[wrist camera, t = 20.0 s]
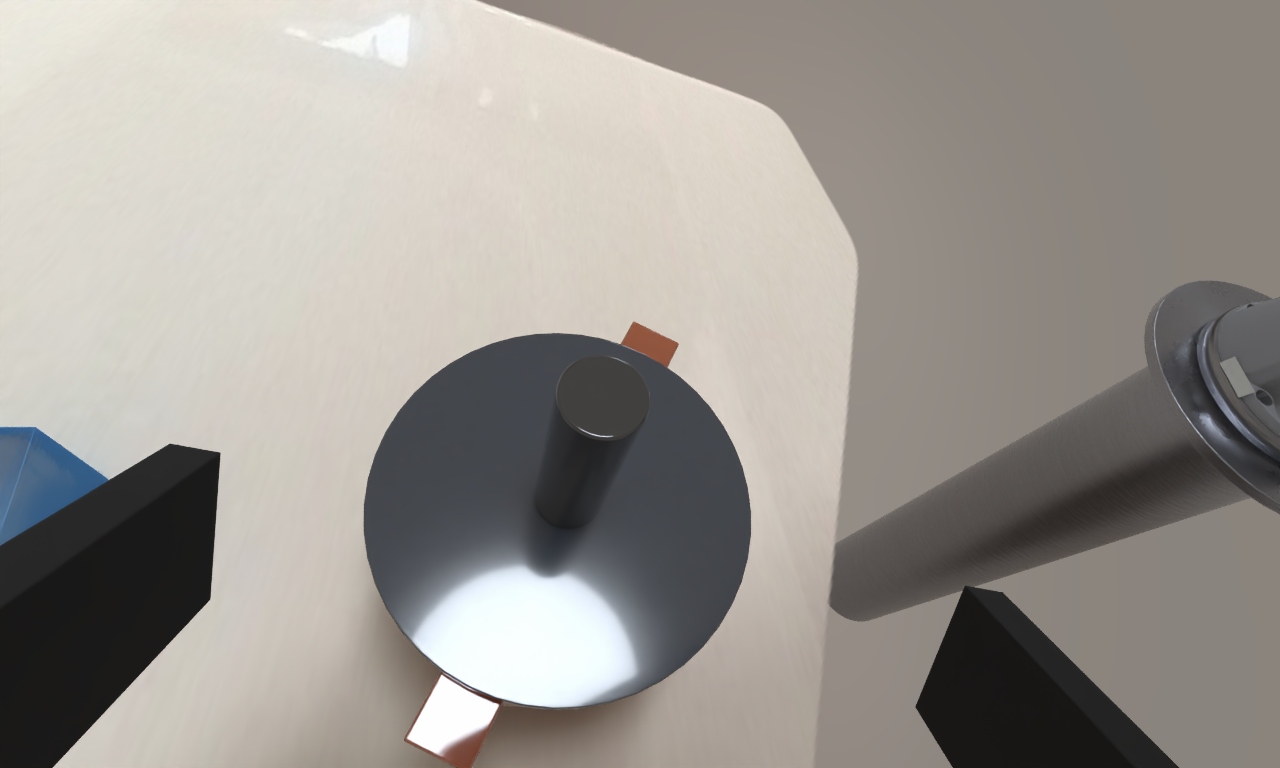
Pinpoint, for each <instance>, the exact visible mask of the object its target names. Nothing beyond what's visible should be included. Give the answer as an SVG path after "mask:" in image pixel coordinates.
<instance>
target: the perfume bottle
mask: <svg viewBox="0 0 1280 768" xmlns="http://www.w3.org/2000/svg"><path fill="white" fill-rule="evenodd" d="M107 481H108V479H107V478H106V477H104V476H103V475H102V474H100V473H99V472H97V471H96V470H95V469H93V468H92V467H90V466H89V465H88V464H86V463H85V462H83V461H82V460H81V459H79V458H78V457H76V456H75V455H74V454H72V453H71V452H70V451H68V450H67V449H65V448H64V447H63V446H61V445H60V444H58V443H57V442H56V441H54V440H53V439H51V438H50V437H49V436H47V435H46V434H44V433H43V432H42V431H40V430H39V429H37V428H36V427H0V545H2V544H4V543H5V542H7V541H9V540H10V539H12V538H14V537H15V536H17V535H19V534H20V533H22V532H24V531H25V530H27V529H29V528H30V527H32V526H34V525H35V524H37V523H39V522H40V521H42V520H44V519H45V518H47V517H49V516H50V515H52V514H54V513H55V512H57V511H59V510H60V509H62V508H64V507H65V506H67V505H69V504H70V503H72V502H74V501H75V500H77V499H79V498H80V497H82V496H84V495H85V494H87V493H89V492H90V491H92V490H94V489H95V488H97V487H99V486H100V485H102V484H104V483H105V482H107Z"/></svg>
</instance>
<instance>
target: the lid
mask: <svg viewBox="0 0 1280 768" xmlns="http://www.w3.org/2000/svg"><path fill="white" fill-rule="evenodd" d="M364 537H365V544H366V551H367V558H368V561H369V565H370V568H371V572H372V575H373V579H374V582H375V585H376V587H377V589H378V591H379V593H380V596H381V598H382V600H383V602H384V604H385V606H386V609H387V610H388V612H389V613H390V615H391V616H392V618H393V619H394V621H395V622H396V624H397V626H398V627H399V629H400V630H401V632H402V633H403V635H404V636H405V637H406V638H407V639H408V640H409V641H410V642H411V644H412V645H413V646H414V647H415V648H416V649H417V650H418V651H419V652H420V654H421V655H422V656H423V657H425V658H426V659H427V660H428V661H429V662H431V663H432V664H433V665H434V666H435V667H437V668H438V669H439V670H440V671H441V672H443V673H444V674H445V675H447V676H449V677H450V678H452V679H454V680H455V681H457V682H458V683H460V684H462V685H463V686H465V687H467V688H468V689H471V690H473V691H475V692H478V693H480V694H483V695H485V696H487V697H490V698H492V699H494V700H498V701H502V702H506V703H509V704H513V705H517V706H521V707H528V708H537V709H547V710H564V709H582V708H587V707H593V706H598V705H603V704H608V703H611V702H614V701H617V700H620V699H623V698H626V697H629V696H632V695H634V694H637V693H639V692H641V691H643V690H645V689H647V688H649V687H651V686H653V685H655V684H657V683H659V682H661V681H662V680H664V679H665V678H666V677H668V676H669V675H671V674H672V673H674V672H675V671H676V670H678V669H679V668H681V667H682V666H683V665H685V664H686V663H687V662H688V661H689V660H690V659H691V658H692V657H693V656H694V655H695V654H696V653H697V652H698V651H699V650H700V649H701V648H702V647H703V646H704V645H705V644H706V643H707V641H708V640H709V639H710V638H711V636H712V635H713V634H714V632H715V631H716V630H717V629H718V627H719V626H720V624H721V623H722V621H723V619H724V617H725V616H726V614H727V612H728V611H729V609H730V607H731V606H732V603H733V601H734V599H735V596H736V594H737V592H738V589H739V587H740V584H741V582H742V578H743V574H744V571H745V567H746V563H747V560H748V553H749V545H750V537H751V510H750V502H749V494H748V487H747V483H746V480H745V476H744V472H743V468H742V465H741V462H740V460H739V457H738V455H737V452H736V450H735V447H734V445H733V443H732V441H731V439H730V437H729V436H728V434H727V432H726V430H725V428H724V426H723V425H722V423H721V422H720V420H719V419H718V418H717V416H716V415H715V413H714V412H713V410H712V409H711V408H710V407H709V405H708V404H707V403H706V402H705V401H704V400H703V399H702V398H701V396H700V395H699V394H698V393H697V392H696V391H695V390H694V389H693V388H692V387H691V386H689V385H688V384H687V383H686V382H685V381H684V380H683V379H682V378H681V377H679V376H678V375H677V374H675V373H674V372H672V371H671V370H670V369H668V368H667V367H665V366H664V365H663V364H661V363H659V362H657V361H656V360H654V359H652V358H650V357H648V356H647V355H645V354H643V353H641V352H638V351H636V350H634V349H631V348H629V347H626V346H624V345H621V344H618V343H614V342H611V341H608V340H604V339H601V338H595V337H590V336H584V335H576V334H562V333H552V334H534V335H527V336H521V337H514V338H510V339H507V340H503V341H499V342H496V343H492V344H490V345H487V346H485V347H482V348H480V349H477V350H475V351H472V352H470V353H468V354H466V355H465V356H463V357H461V358H459V359H457V360H456V361H454V362H452V363H450V364H449V365H447V366H446V367H445V368H443V369H442V370H440V371H439V372H438V373H436V374H435V375H433V376H432V377H431V378H430V379H429V380H428V381H427V382H426V383H424V384H423V385H422V386H421V387H420V388H419V389H418V390H417V391H416V392H415V393H414V394H413V395H412V396H411V397H410V399H409V400H408V401H407V402H406V403H405V405H404V406H403V407H402V408H401V409H400V411H399V412H398V413H397V415H396V417H395V418H394V420H393V421H392V423H391V424H390V426H389V428H388V429H387V431H386V432H385V434H384V437H383V439H382V441H381V443H380V445H379V448H378V450H377V452H376V454H375V457H374V460H373V464H372V467H371V470H370V474H369V477H368V481H367V488H366V494H365V501H364Z"/></svg>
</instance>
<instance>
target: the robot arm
mask: <svg viewBox="0 0 1280 768" xmlns="http://www.w3.org/2000/svg"><path fill="white" fill-rule="evenodd" d="M1197 357H1198V363H1199V367H1200V370H1201V374H1202V376H1203V379H1204V381H1205V383H1206V386H1207V388H1208V389H1209V391H1210V393H1211V395H1212V397H1213V398H1214V400H1215V401H1216V403H1217V405H1218V406H1219V407H1220V409H1221V410H1222V412H1223V413H1224V414H1225V415H1226V417H1227V418H1228V419H1229V420H1230V421H1231V423H1232V424H1233V425H1234V426H1235V427H1236V428H1237V429H1238V430H1239V431H1240V432H1241V433H1242V434H1243V435H1244V436H1245V437H1246V438H1247V439H1248V440H1249V441H1251V442H1252V443H1253V444H1254V445H1255V446H1257V447H1258V448H1259V449H1260V450H1262V451H1263V452H1264V453H1266V454H1267V455H1269V456H1270V457H1272V458H1273V459H1275V460H1277V461H1278V462H1280V297H1278V298H1275V299H1272V300H1269V301H1266V302H1253V303H1249V304H1245V305H1242V306H1238V307H1235V308H1232V309H1231V310H1229V311H1227V312H1225V313H1224V314H1222V315H1220V316H1218V317H1217V318H1215V319H1213V320H1212V321H1210V322H1209V323H1208V324H1206V325H1205V327H1204V328H1203V329H1202V331H1201V333H1200V335H1199V338H1198V343H1197ZM219 466H220V453H219V452H213V451H208V450H202V449H197V448H191V447H185V446H180V445H174V444H169V445H167V446H165V447H164V448H162V449H160V450H159V451H157V452H155V453H154V454H152V455H150V456H149V457H147V458H145V459H144V460H142V461H140V462H139V463H137V464H135V465H134V466H132V467H130V468H129V469H127V470H125V471H124V472H122V473H120V474H119V475H117V476H115V477H114V478H112V479H110V480H109V481H107V482H105V483H104V484H102V485H100V486H99V487H97V488H95V489H94V490H92V491H90V492H89V493H87V494H85V495H84V496H82V497H80V498H79V499H77V500H75V501H74V502H72V503H70V504H69V505H67V506H65V507H64V508H62V509H60V510H59V511H57V512H55V513H54V514H52V515H50V516H49V517H47V518H45V519H44V520H42V521H40V522H39V523H37V524H35V525H34V526H32V527H30V528H29V529H27V530H25V531H24V532H22V533H20V534H19V535H17V536H15V537H14V538H12V539H10V540H9V541H7V542H5V543H4V544H2V545H0V768H53V767H54V766H55V764H56V763H57V762H58V761H59V760H60V759H61V758H62V757H63V756H64V755H65V754H66V753H67V752H68V751H69V750H70V749H71V747H72V746H73V745H74V744H75V743H76V742H77V741H78V740H79V739H80V738H81V737H82V736H83V735H84V734H85V733H86V731H87V730H88V729H89V728H90V727H91V726H92V725H93V724H94V723H95V722H96V721H97V720H98V719H99V718H100V717H101V715H102V714H103V713H104V712H105V711H106V710H107V709H108V708H109V707H110V706H111V705H112V704H113V703H114V702H115V701H116V699H117V698H118V697H119V696H120V695H121V694H122V693H123V692H124V691H125V690H126V689H127V688H128V687H129V686H130V685H131V683H132V682H133V681H134V680H135V679H136V678H137V677H138V676H139V675H140V674H141V673H142V672H143V671H144V670H145V669H146V667H147V666H148V665H149V664H150V663H151V662H152V661H153V660H154V659H155V658H156V657H157V656H158V655H159V654H160V653H161V651H162V650H163V649H164V648H165V647H166V646H167V645H168V644H169V643H170V642H171V641H172V640H173V639H174V638H175V637H176V635H177V634H178V633H179V632H180V631H181V630H182V629H183V628H184V627H185V626H186V625H187V624H188V623H189V622H190V621H191V619H192V618H193V617H194V616H195V615H196V614H197V613H198V612H199V611H200V610H201V609H202V608H203V607H204V606H205V605H206V603H207V602H208V601H209V600H210V597H211V582H212V568H213V553H214V539H215V524H216V510H217V495H218V481H219ZM916 709H917V710H918V712H919V713H920V715H921V717H922V718H923V720H924V722H925V723H926V725H927V727H928V728H929V730H930V732H931V733H932V735H933V736H934V738H935V740H936V741H937V743H938V744H939V746H940V748H941V749H942V751H943V753H944V754H945V756H946V757H947V759H948V761H949V762H950V764H951V765H952V767H953V768H1179V767H1178V766H1177V765H1176V764H1175V763H1174V762H1173V761H1172V760H1171V759H1170V758H1169V757H1168V756H1167V755H1166V754H1165V753H1164V752H1163V751H1162V750H1161V749H1160V748H1159V747H1158V746H1157V745H1156V744H1155V743H1154V742H1153V741H1152V740H1151V739H1150V738H1149V737H1148V736H1147V735H1146V734H1144V732H1143V731H1142V730H1141V729H1140V728H1139V727H1137V725H1136V724H1135V723H1134V722H1133V721H1132V720H1130V718H1129V717H1127V715H1126V714H1124V713H1123V712H1122V711H1121V710H1120V709H1119V708H1118V707H1117V706H1116V705H1115V704H1114V703H1113V702H1112V701H1111V700H1110V699H1109V698H1108V697H1107V696H1106V695H1105V694H1104V693H1103V692H1102V691H1101V690H1100V689H1099V688H1098V687H1097V686H1096V685H1095V684H1094V683H1093V682H1092V681H1091V680H1090V679H1089V678H1088V677H1087V676H1086V675H1085V674H1084V673H1083V672H1082V671H1081V670H1080V669H1079V668H1078V667H1077V666H1076V665H1075V664H1074V663H1073V662H1072V661H1071V660H1070V659H1069V658H1068V657H1067V656H1066V655H1065V654H1064V653H1063V652H1062V651H1061V650H1060V649H1059V648H1058V647H1057V646H1056V645H1055V644H1054V643H1053V642H1052V641H1051V640H1050V639H1049V638H1048V637H1047V636H1046V635H1045V634H1044V633H1043V632H1042V631H1041V630H1040V629H1039V628H1038V627H1037V626H1036V625H1035V624H1034V623H1033V622H1032V621H1031V620H1030V619H1029V618H1028V617H1027V616H1026V615H1025V614H1024V613H1023V612H1022V611H1020V609H1019V608H1018V607H1017V606H1016V605H1015V604H1014V603H1012V601H1011V600H1009V598H1008V597H1006V595H1004V594H1003V592H997V591H991V590H986V589H980V588H975V587H969V586H965V587H964V589H963V592H962V594H961V597H960V599H959V602H958V604H957V607H956V609H955V612H954V614H953V616H952V619H951V621H950V624H949V626H948V629H947V631H946V634H945V636H944V638H943V641H942V643H941V646H940V648H939V651H938V653H937V655H936V658H935V660H934V663H933V665H932V668H931V670H930V673H929V675H928V677H927V680H926V682H925V685H924V687H923V690H922V692H921V694H920V697H919V699H918V702H917V704H916Z"/></svg>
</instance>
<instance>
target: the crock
mask: <svg viewBox="0 0 1280 768" xmlns="http://www.w3.org/2000/svg"><path fill="white" fill-rule="evenodd" d="M621 345H624V346H626V347H629V348H631V349H634V350H636V351H638V352H641V353H643V354H645V355H647V356H648V357H650V358H652V359H654V360H656V361H657V362H659V363H661V364H663V365H664V366H665V367H668V365H669V363H670V361H671V359H672V357H673V355H674V353H675V351H676V349H677V347H678V345H679V344H678V343H677V342H675V341H673V340H671V339H669V338H667V337H665V336H663V335H661V334H659V333H657V332H654V331H652V330H650V329H648V328H646V327H644V326H642V325H640V324H638V323H636V322H633V323H632V325H631V326H630V328H629V330H628V332H627V334H626V336H625V337H624V339H623V341H622V343H621ZM502 705H503V706H513V707H521V706H517V705H513V704H509V703H506V702H502V701H498V700H494V699H492V698H490V697H487V696H485V695H483V694H480V693H478V692H475V691H473V690H471V689H468V688H467V687H465V686H463V685H462V684H460V683H458V682H457V681H455V680H454V679H452V678H450V677H449V676H447V675H445V674H444V673H443V672H440V674H439V676H438V677H437V679H436V681H435V683H434V685H433V687H432V688H431V690H430V692H429V694H428V696H427V697H426V699H425V701H424V703H423V705H422V707H421V708H420V710H419V712H418V714H417V716H416V717H415V719H414V721H413V723H412V725H411V727H410V728H409V730H408V732H407V734H406V736H405V738H404V741H405V742H407V743H409V744H411V745H413V746H414V747H416V748H418V749H420V750H422V751H424V752H426V753H428V754H430V755H432V756H434V757H436V758H438V759H440V760H442V761H444V762H446V763H448V764H450V765H452V766H454V767H456V768H471V767H472V765H473V763H474V761H475V759H476V757H477V755H478V753H479V751H480V749H481V747H482V745H483V743H484V741H485V739H486V737H487V735H488V733H489V731H490V729H491V727H492V725H493V722H494V720H495V718H496V716H497V714H498V712H499V710H500V708H501V706H502Z"/></svg>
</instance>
